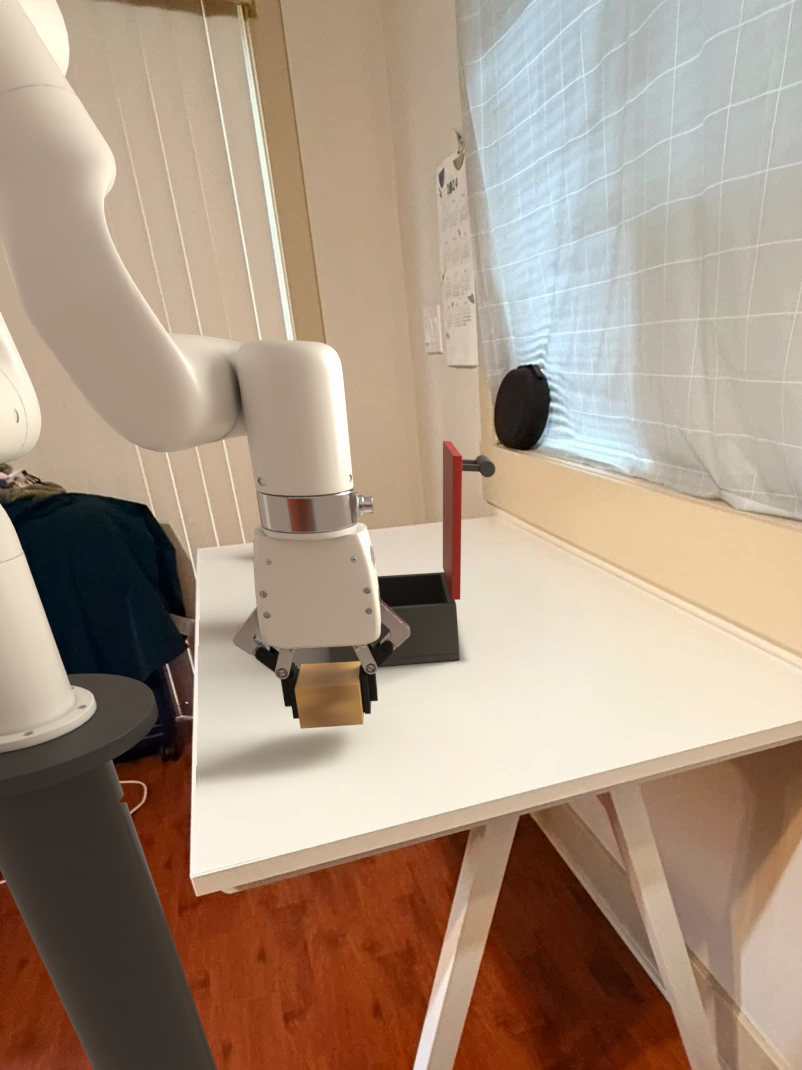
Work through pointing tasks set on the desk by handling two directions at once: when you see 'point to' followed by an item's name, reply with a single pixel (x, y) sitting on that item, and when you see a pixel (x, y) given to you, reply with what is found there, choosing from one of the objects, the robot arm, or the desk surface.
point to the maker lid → (456, 509)
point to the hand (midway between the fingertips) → (333, 708)
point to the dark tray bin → (416, 620)
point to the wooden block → (329, 695)
